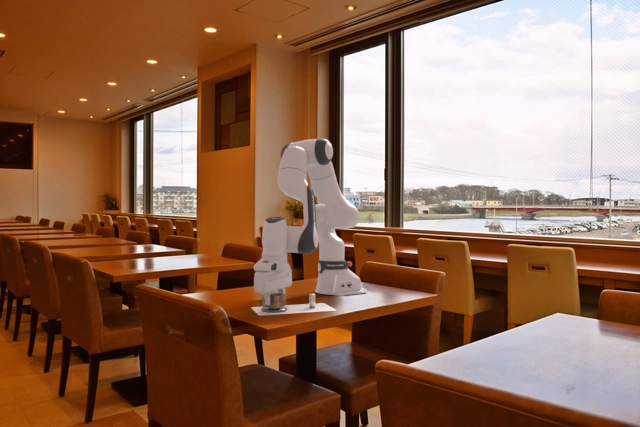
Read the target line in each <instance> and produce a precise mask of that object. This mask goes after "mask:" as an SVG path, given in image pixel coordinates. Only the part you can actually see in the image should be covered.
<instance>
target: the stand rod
mask: <svg viewBox="0 0 640 427" xmlns="http://www.w3.org/2000/svg"><path fill="white" fill-rule="evenodd" d="M308 297H309V298H308V304H309V308H315V304H316V293H309V294H308Z"/></svg>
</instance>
